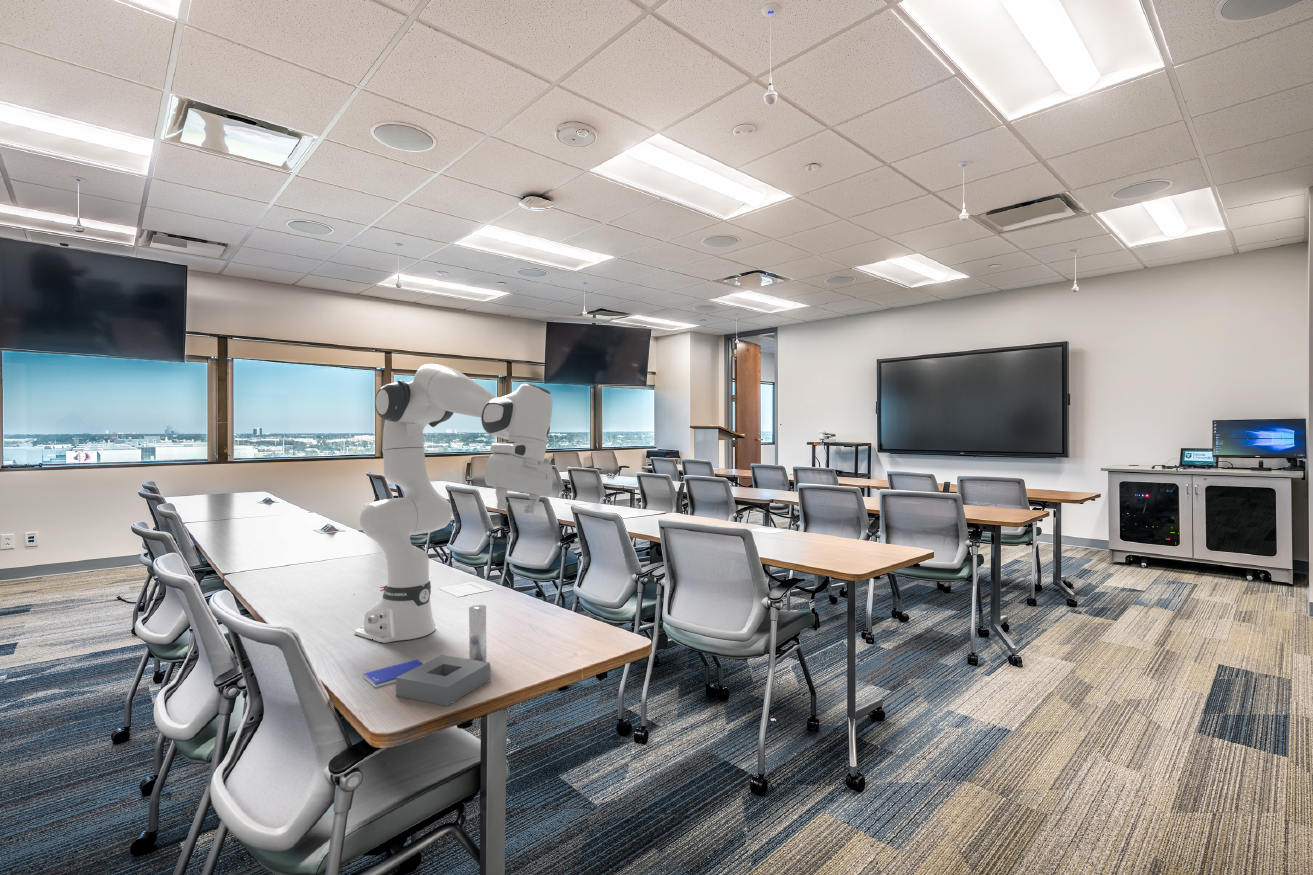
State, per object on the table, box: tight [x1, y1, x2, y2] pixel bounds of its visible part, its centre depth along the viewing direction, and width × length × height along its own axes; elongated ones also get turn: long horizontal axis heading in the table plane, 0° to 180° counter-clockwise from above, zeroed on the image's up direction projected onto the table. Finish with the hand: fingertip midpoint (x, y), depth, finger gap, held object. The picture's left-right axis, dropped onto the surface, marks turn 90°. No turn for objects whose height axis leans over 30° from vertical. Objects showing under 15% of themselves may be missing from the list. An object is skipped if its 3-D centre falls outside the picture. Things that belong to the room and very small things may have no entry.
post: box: [468, 604, 488, 662], centre depth 144 cm, size 4×4×14 cm
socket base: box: [395, 654, 491, 707], centre depth 130 cm, size 14×14×4 cm
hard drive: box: [362, 659, 424, 688], centre depth 138 cm, size 2×8×12 cm
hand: (515, 511), depth 133 cm, fingers open, 8 cm apart
